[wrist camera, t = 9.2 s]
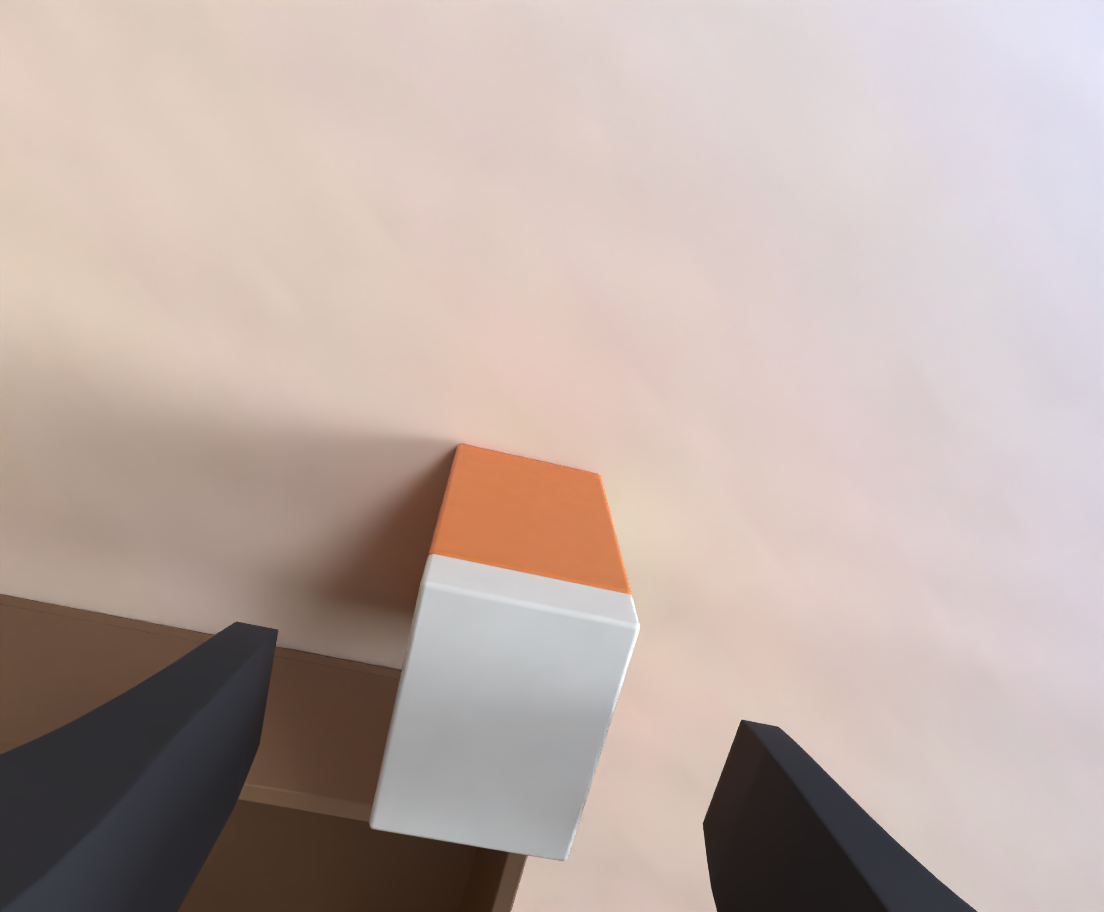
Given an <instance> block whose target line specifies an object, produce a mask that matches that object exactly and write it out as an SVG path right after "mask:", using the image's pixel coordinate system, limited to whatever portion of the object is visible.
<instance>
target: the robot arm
mask: <svg viewBox="0 0 1104 912" xmlns="http://www.w3.org/2000/svg"><path fill="white" fill-rule="evenodd" d="M277 634H278V630H277V629H272V628H267V627H262V626H257V625H251V624H246V623H241V622H235V623H233V624H232V625H230V626H228V627H227V628H225V629H224V630H222V631H220V632H219V633H217V634H216V635H214V636H213V637H211V638H210V639H208V640H207V641H205V642H204V643H202V644H201V645H199V646H198V647H196V648H195V649H193V650H192V651H190V652H189V653H187V654H185V655H184V656H182V657H181V658H179V659H178V660H176V661H175V662H173V663H172V664H170V665H168V666H167V667H165V668H164V669H162V670H160V671H159V672H157V673H156V674H154V675H152V676H151V677H149V678H147V679H146V680H144V681H143V682H141V683H139V684H138V685H136V686H134V687H133V688H131V689H130V690H128V691H126V692H124V693H123V694H121V695H119V696H117V697H116V698H114V699H112V700H110V701H108V702H107V703H105V704H103V705H101V706H99V707H98V708H96V709H94V710H92V711H90V712H88V713H87V714H85V715H83V716H81V717H79V718H78V719H76V720H74V721H72V722H70V723H68V724H66V725H64V726H62V727H60V728H58V729H56V730H53V731H51V732H49V733H47V734H45V735H43V736H41V737H39V738H37V739H34V740H32V741H30V742H28V743H25V744H23V745H21V746H19V747H16V748H14V749H12V750H10V751H7V752H5V753H3V754H0V912H178V910H179V908H180V906H181V905H182V903H183V901H184V899H185V897H186V896H187V894H188V892H189V890H190V888H191V886H192V885H193V883H194V881H195V879H196V877H197V876H198V874H199V872H200V870H201V868H202V866H203V865H204V863H205V861H206V859H207V857H208V855H209V854H210V852H211V850H212V848H213V846H214V844H215V843H216V841H217V839H218V837H219V835H220V833H221V831H222V830H223V828H224V826H225V824H226V822H227V820H228V819H229V817H230V815H231V813H232V811H233V809H234V807H235V805H236V802H237V800H238V798H239V795H240V793H241V790H242V788H243V785H244V783H245V781H246V778H247V776H248V773H249V771H250V768H251V765H252V763H253V760H254V758H255V755H256V753H257V750H258V748H259V745H260V740H261V734H262V728H263V721H264V715H265V709H266V703H267V696H268V690H269V684H270V677H271V671H272V665H273V659H274V652H275V646H276V640H277ZM703 830H704V838H705V846H706V855H707V862H708V869H709V875H710V882H711V889H712V893H713V897H714V900H715V904H716V908H717V912H977V911H976V910H975V909H973V908H972V907H971V906H970V905H968V904H967V903H966V902H965V901H963V900H962V899H961V898H960V897H958V896H957V895H956V894H955V893H954V892H953V891H951V890H950V889H949V888H948V887H947V886H945V885H944V884H943V883H942V882H941V881H940V880H938V879H937V878H936V877H935V876H934V875H933V874H932V873H931V872H929V871H928V870H927V869H926V868H925V867H924V866H923V865H922V864H921V863H919V862H918V861H917V860H916V859H915V858H914V857H913V856H912V855H911V854H910V853H908V852H907V851H906V850H905V849H904V848H903V847H902V846H901V845H900V844H899V843H898V842H896V841H895V840H894V839H893V838H892V837H891V836H890V835H889V834H888V833H887V832H886V831H885V830H884V829H883V828H882V827H881V826H880V825H879V824H878V823H877V822H876V821H875V820H873V819H872V818H871V817H870V816H869V815H868V814H867V813H866V812H865V811H864V810H863V809H862V808H861V807H860V806H859V805H858V804H857V803H856V802H855V801H854V800H853V799H852V798H851V797H850V796H849V795H848V794H847V793H846V792H845V791H844V790H843V789H842V788H841V787H840V786H839V785H838V784H837V783H836V782H835V781H834V780H833V779H832V778H831V777H830V776H829V775H828V774H827V773H826V772H825V771H824V770H823V769H822V768H821V767H820V766H819V765H818V764H817V763H816V762H815V761H814V760H813V759H812V758H811V757H810V756H809V755H808V754H807V753H806V752H805V751H804V750H803V749H802V748H801V747H800V746H799V745H798V744H797V743H796V742H795V741H794V740H793V739H792V738H791V737H790V736H788V735H787V734H786V733H785V732H784V731H783V730H781V729H780V728H779V727H777V726H771V725H766V724H761V723H756V722H751V721H746V720H741V722H740V725H739V727H738V730H737V733H736V736H735V738H734V741H733V744H732V746H731V749H730V752H729V754H728V757H727V760H726V763H725V765H724V768H723V771H722V773H721V776H720V779H719V781H718V784H717V787H716V790H715V792H714V795H713V798H712V800H711V803H710V806H709V808H708V811H707V814H706V816H705V819H704V822H703Z"/></svg>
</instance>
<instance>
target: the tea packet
mask: <svg viewBox="0 0 1104 912" xmlns="http://www.w3.org/2000/svg"><path fill="white" fill-rule="evenodd" d="M639 630H640V625H639V621H638V617H637V613H636V609H635V606H634V602H633V598H632V596H631V591H630V587H629V583H628V579H627V575H626V572H625V568H624V564H623V560H622V556H621V552H620V549H619V545H618V541H617V537H616V533H615V530H614V526H613V522H612V518H611V514H610V510H609V507H608V503H607V499H606V495H605V491H604V488H603V484H602V480H601V476H600V475H599V474H596V473H591V472H587V471H582V470H578V469H573V468H569V467H564V466H560V465H555V464H551V463H546V462H542V461H537V460H533V459H528V458H524V457H519V456H515V455H510V454H506V453H501V452H497V451H492V450H488V449H483V448H479V447H474V446H470V445H465V444H459V445H458V446H457V448H456V452H455V456H454V460H453V463H452V467H451V471H450V475H449V478H448V482H447V486H446V490H445V493H444V497H443V501H442V505H441V508H440V512H439V516H438V520H437V523H436V527H435V531H434V535H433V538H432V542H431V546H430V550H429V553H428V558H427V561H426V565H425V568H424V572H423V576H422V580H421V583H420V588H419V592H418V597H417V602H416V606H415V611H414V616H413V620H412V625H411V630H410V634H409V639H408V644H407V648H406V653H405V657H404V662H403V667H402V671H401V676H400V681H399V685H398V690H397V695H396V699H395V704H394V709H393V713H392V718H391V722H390V727H389V732H388V736H387V741H386V746H385V750H384V755H383V760H382V764H381V769H380V774H379V778H378V783H377V788H376V792H375V797H374V801H373V806H372V811H371V815H370V820H369V824H370V828H372V829H375V830H381V831H387V832H393V833H399V834H405V835H411V836H417V837H423V838H429V839H435V840H441V841H446V842H452V843H458V844H464V845H470V846H476V847H482V848H488V849H494V850H500V851H506V852H511V853H517V854H523V855H529V856H535V857H541V858H547V859H553V860H559V861H565V860H566V859H567V858H568V856H569V852H570V849H571V846H572V843H573V840H574V836H575V833H576V830H577V827H578V824H579V821H580V817H581V814H582V811H583V808H584V805H585V801H586V798H587V795H588V792H589V789H590V786H591V782H592V779H593V776H594V773H595V770H596V766H597V763H598V760H599V757H600V754H601V751H602V747H603V744H604V741H605V738H606V735H607V732H608V728H609V725H610V722H611V719H612V716H613V712H614V709H615V706H616V703H617V700H618V697H619V693H620V690H621V687H622V684H623V681H624V677H625V674H626V671H627V668H628V665H629V662H630V658H631V655H632V652H633V649H634V646H635V642H636V639H637V636H638V633H639Z"/></svg>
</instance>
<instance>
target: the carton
mask: <svg viewBox="0 0 1104 912" xmlns="http://www.w3.org/2000/svg"><path fill="white" fill-rule="evenodd" d="M213 636H214V635H211V634H206V633H201V632H196V631H190V630H185V629H180V628H175V627H169V626H164V625H159V624H154V623H148V622H143V621H138V620H133V619H127V618H122V617H117V616H112V615H106V614H101V613H96V612H91V611H86V610H80V609H75V608H70V607H65V606H59V605H54V604H49V603H44V602H38V601H33V600H28V599H23V598H17V597H12V596H7V595H2V594H0V754H3V753H5V752H7V751H10V750H12V749H14V748H16V747H19V746H21V745H23V744H25V743H28V742H30V741H32V740H34V739H37V738H39V737H41V736H43V735H45V734H47V733H49V732H51V731H53V730H56V729H58V728H60V727H62V726H64V725H66V724H68V723H70V722H72V721H74V720H76V719H78V718H79V717H81V716H83V715H85V714H87V713H88V712H90V711H92V710H94V709H96V708H98V707H99V706H101V705H103V704H105V703H107V702H108V701H110V700H112V699H114V698H116V697H117V696H119V695H121V694H123V693H124V692H126V691H128V690H130V689H131V688H133V687H134V686H136V685H138V684H139V683H141V682H143V681H144V680H146V679H147V678H149V677H151V676H152V675H154V674H156V673H157V672H159V671H160V670H162V669H164V668H165V667H167V666H168V665H170V664H172V663H173V662H175V661H176V660H178V659H179V658H181V657H182V656H184V655H185V654H187V653H189V652H190V651H192V650H193V649H195V648H196V647H198V646H199V645H201V644H202V643H204V642H205V641H207V640H208V639H210V638H211V637H213ZM400 676H401V671H400V670H395V669H389V668H384V667H379V666H374V665H369V664H363V663H358V662H353V661H348V660H342V659H337V658H332V657H327V656H321V655H316V654H311V653H306V652H300V651H295V650H290V649H285V648H279V647H275V652H274V659H273V665H272V671H271V677H270V684H269V690H268V696H267V703H266V709H265V715H264V721H263V728H262V734H261V740H260V745H259V748H258V750H257V753H256V755H255V758H254V760H253V763H252V765H251V768H250V771H249V773H248V776H247V778H246V781H245V783H244V785H243V788H242V790H241V793H240V795H239V798H238V800H237V802H236V805H235V807H234V809H233V811H232V813H231V815H230V817H229V819H228V820H227V822H226V824H225V826H224V828H223V830H222V831H221V833H220V835H219V837H218V839H217V841H216V843H215V844H214V846H213V848H212V850H211V852H210V854H209V855H208V857H207V859H206V861H205V863H204V865H203V866H202V868H201V870H200V872H199V874H198V876H197V877H196V879H195V881H194V883H193V885H192V886H191V888H190V890H189V892H188V894H187V896H186V897H185V899H184V901H183V903H182V905H181V906H180V908H179V910H178V912H511V910H512V907H513V903H514V900H515V896H516V893H517V890H518V886H519V883H520V879H521V876H522V873H523V869H524V866H525V862H526V859H527V856H528V855H523V854H517V853H511V852H506V851H500V850H494V849H488V848H482V847H476V846H470V845H464V844H458V843H452V842H446V841H441V840H435V839H429V838H423V837H417V836H411V835H405V834H399V833H393V832H387V831H381V830H375V829H372V828H370V824H369V820H370V815H371V811H372V806H373V801H374V797H375V792H376V788H377V783H378V778H379V774H380V769H381V764H382V760H383V755H384V750H385V746H386V741H387V736H388V732H389V727H390V722H391V718H392V713H393V709H394V704H395V699H396V695H397V690H398V685H399V681H400Z"/></svg>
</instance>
